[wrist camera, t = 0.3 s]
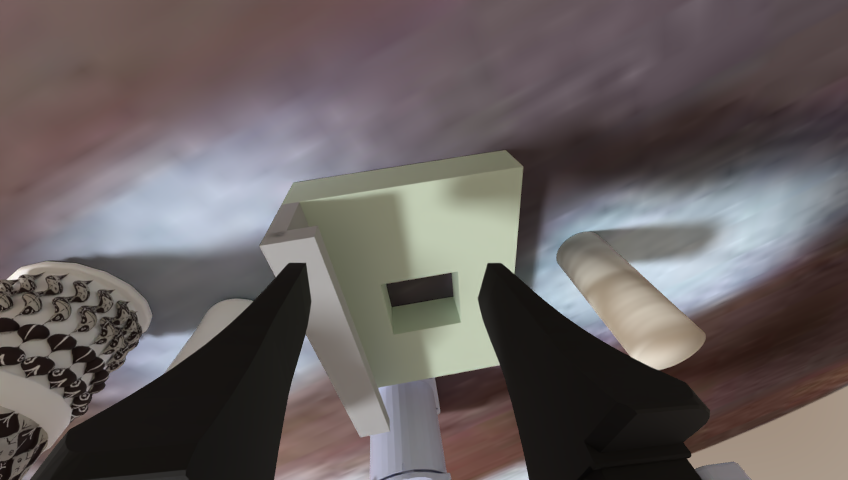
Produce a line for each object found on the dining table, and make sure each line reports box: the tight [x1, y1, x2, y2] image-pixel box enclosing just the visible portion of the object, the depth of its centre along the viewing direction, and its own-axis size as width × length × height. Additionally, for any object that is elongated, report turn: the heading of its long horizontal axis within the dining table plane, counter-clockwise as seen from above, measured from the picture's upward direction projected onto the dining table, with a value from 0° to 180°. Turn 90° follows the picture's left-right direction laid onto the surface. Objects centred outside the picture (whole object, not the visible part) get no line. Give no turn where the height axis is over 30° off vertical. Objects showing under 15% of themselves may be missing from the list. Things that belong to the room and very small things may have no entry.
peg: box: [556, 232, 706, 370], centre depth 22 cm, size 4×4×10 cm
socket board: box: [260, 150, 523, 437], centre depth 23 cm, size 20×14×7 cm
